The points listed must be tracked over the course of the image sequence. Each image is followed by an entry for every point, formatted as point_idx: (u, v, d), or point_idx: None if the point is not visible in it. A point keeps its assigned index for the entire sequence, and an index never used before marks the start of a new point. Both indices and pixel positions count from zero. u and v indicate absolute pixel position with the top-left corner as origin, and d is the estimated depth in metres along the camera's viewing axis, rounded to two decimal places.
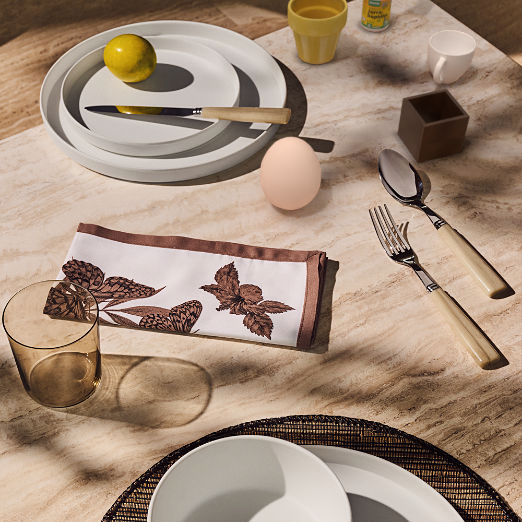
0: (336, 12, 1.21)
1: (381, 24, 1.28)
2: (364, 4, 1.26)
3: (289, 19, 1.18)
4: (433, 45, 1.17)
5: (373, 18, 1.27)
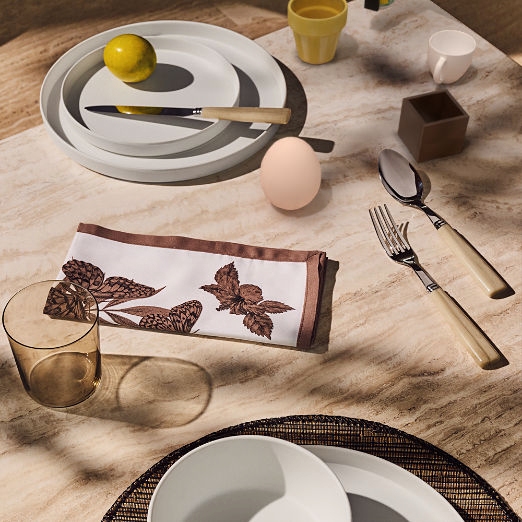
0: (336, 12, 1.21)
1: (386, 1, 1.24)
2: None
3: (289, 19, 1.18)
4: (433, 45, 1.17)
5: None
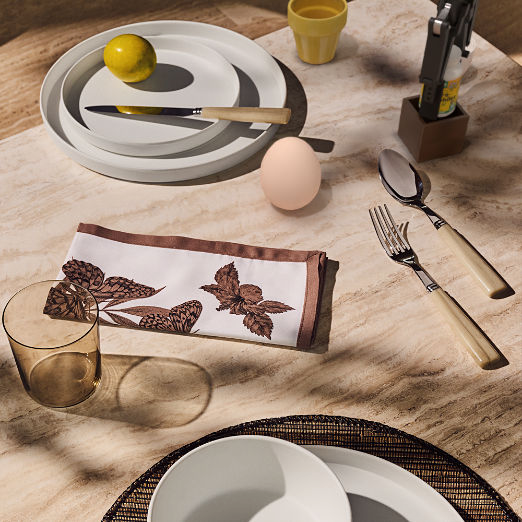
0: (336, 12, 1.21)
1: (446, 108, 0.99)
2: None
3: (289, 19, 1.18)
4: None
5: None
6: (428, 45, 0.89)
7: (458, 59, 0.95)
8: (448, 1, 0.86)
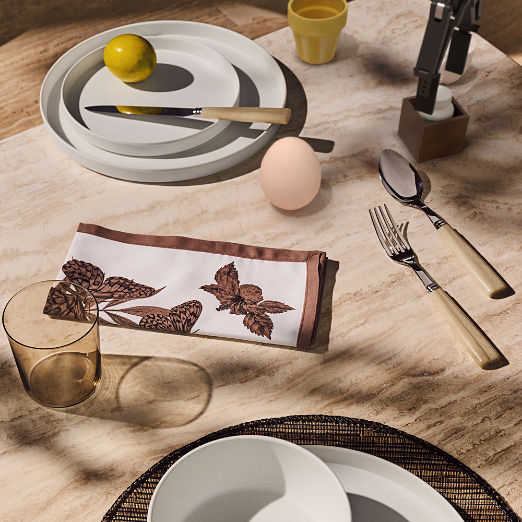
0: (336, 12, 1.21)
1: None
2: None
3: (289, 19, 1.18)
4: None
5: None
6: (428, 31, 0.87)
7: (449, 101, 1.00)
8: None
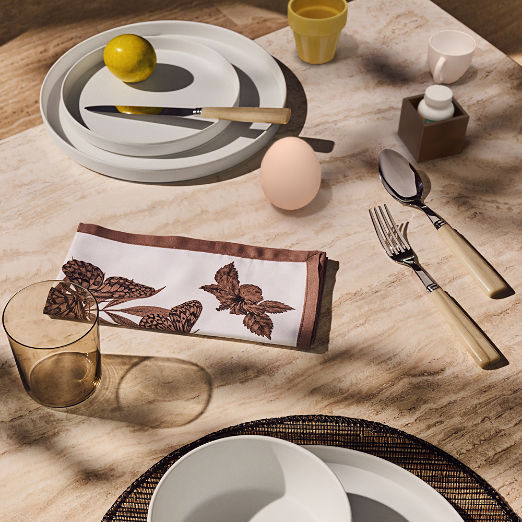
0: (336, 12, 1.21)
1: None
2: None
3: (289, 19, 1.18)
4: (433, 45, 1.17)
5: None
6: None
7: (449, 100, 1.00)
8: None
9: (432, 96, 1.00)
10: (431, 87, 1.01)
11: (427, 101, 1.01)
